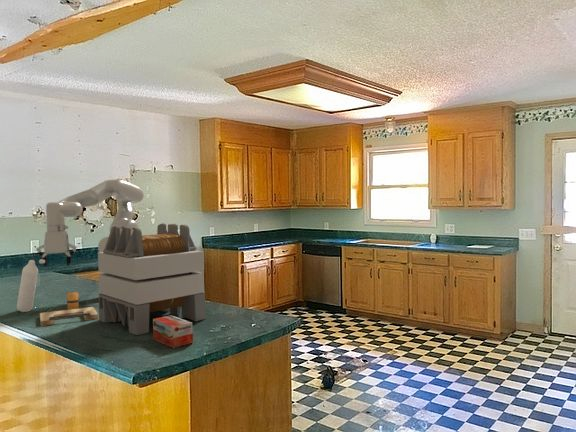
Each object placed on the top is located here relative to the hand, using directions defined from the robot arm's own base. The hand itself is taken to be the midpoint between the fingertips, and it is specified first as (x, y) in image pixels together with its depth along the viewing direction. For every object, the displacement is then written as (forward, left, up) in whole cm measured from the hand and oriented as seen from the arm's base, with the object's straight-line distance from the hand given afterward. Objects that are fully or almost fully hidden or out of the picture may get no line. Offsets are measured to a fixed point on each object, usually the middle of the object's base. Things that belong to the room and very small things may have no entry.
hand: (57, 265), depth 223 cm
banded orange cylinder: (-6, +5, -21) cm, 22 cm away
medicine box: (-33, +77, -21) cm, 86 cm away
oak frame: (-3, +20, -21) cm, 29 cm away
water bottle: (+13, -6, -20) cm, 25 cm away
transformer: (-34, +42, -21) cm, 58 cm away
